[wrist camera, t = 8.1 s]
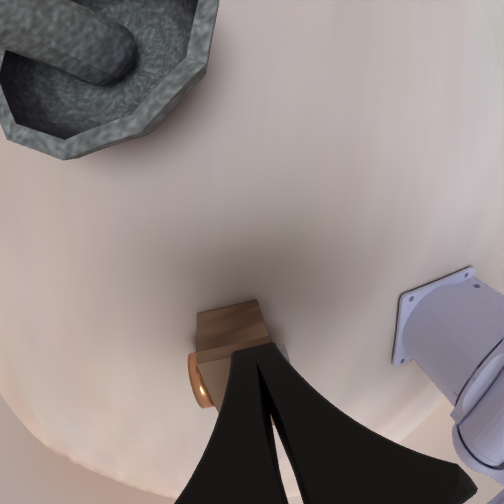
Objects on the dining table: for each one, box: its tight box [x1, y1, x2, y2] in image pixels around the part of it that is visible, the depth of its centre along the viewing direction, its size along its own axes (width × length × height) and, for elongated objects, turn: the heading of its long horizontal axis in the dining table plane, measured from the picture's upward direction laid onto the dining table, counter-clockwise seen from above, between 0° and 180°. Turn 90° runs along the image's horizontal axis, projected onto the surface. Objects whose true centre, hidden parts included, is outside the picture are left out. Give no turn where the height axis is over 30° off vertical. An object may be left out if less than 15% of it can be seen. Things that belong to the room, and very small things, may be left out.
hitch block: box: [197, 300, 275, 426], centre depth 18 cm, size 4×7×5 cm, turn 11°
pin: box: [188, 345, 290, 408], centre depth 18 cm, size 6×4×4 cm, turn 101°
